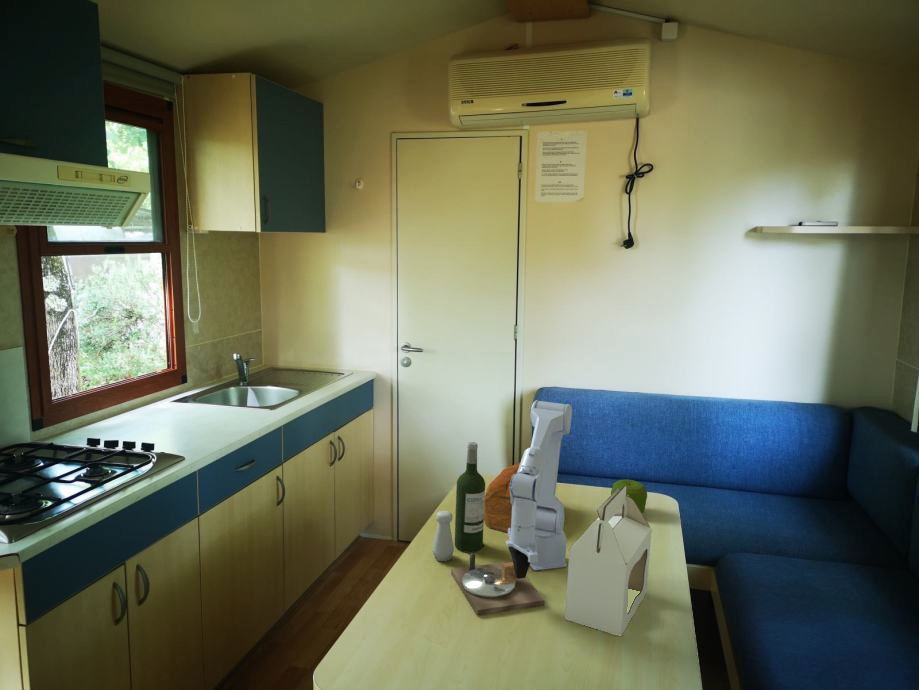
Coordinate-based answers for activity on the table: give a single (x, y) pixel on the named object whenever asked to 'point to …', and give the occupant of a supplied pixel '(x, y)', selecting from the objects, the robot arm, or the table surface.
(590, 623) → the gable box
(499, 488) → the bread
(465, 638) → the table surface
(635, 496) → the apple
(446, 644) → the table surface
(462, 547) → the wine bottle
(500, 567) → the walnut board
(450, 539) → the salt shaker
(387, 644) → the table surface
